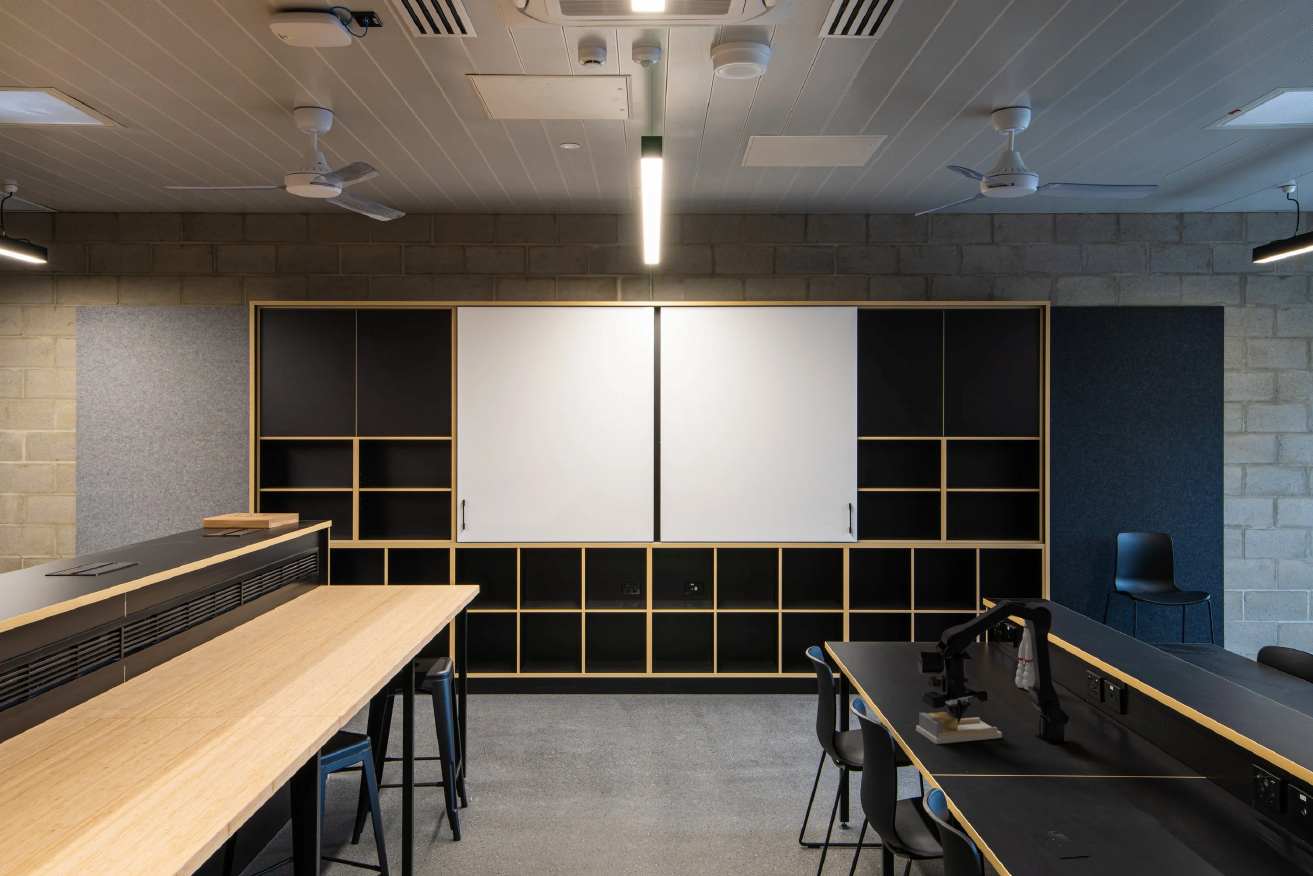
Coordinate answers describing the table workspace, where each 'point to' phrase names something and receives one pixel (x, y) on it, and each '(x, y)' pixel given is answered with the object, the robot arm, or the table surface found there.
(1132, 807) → the table surface
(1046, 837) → the solid state drive
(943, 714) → the block
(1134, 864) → the table surface
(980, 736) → the track
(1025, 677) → the rocket model
